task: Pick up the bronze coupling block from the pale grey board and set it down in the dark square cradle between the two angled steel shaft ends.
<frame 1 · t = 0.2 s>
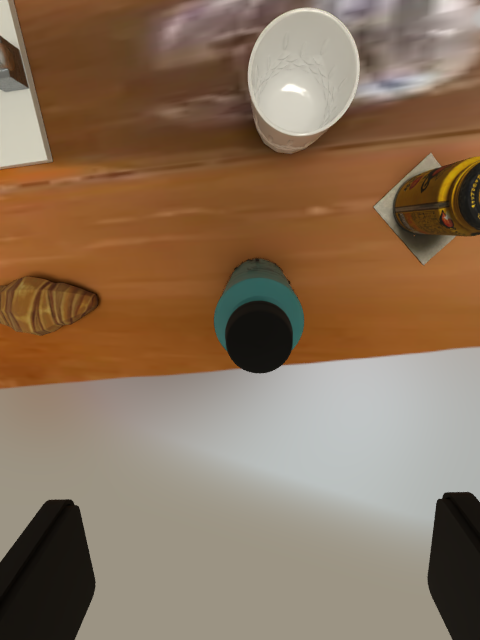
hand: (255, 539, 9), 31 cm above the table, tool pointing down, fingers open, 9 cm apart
condiment: (424, 211, 36), on the table
white cup: (288, 117, 34), on the table
shaft a: (4, 78, 34), resting on board
beverage bottle: (256, 284, 39), on the table
croissant: (46, 301, 40), on the table
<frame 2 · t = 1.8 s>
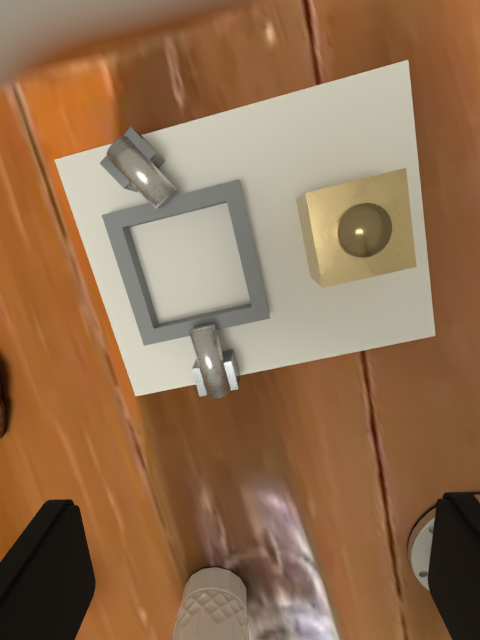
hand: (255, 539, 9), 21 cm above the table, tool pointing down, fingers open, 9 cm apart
white cup: (216, 588, 38), on the table
board: (253, 250, 28), on the table
shaft b: (156, 180, 27), resting on board
shaft a: (215, 345, 30), resting on board
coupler: (342, 230, 26), point 1 cm above the table, touching board
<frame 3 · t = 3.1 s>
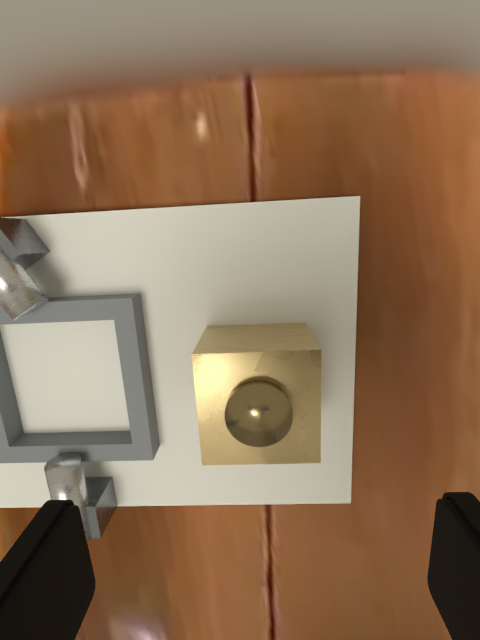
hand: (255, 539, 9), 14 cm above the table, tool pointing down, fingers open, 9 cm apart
board: (152, 368, 23), on the table
shaft b: (42, 267, 21), resting on board
shaft a: (95, 464, 25), resting on board
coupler: (257, 370, 21), point 1 cm above the table, touching board
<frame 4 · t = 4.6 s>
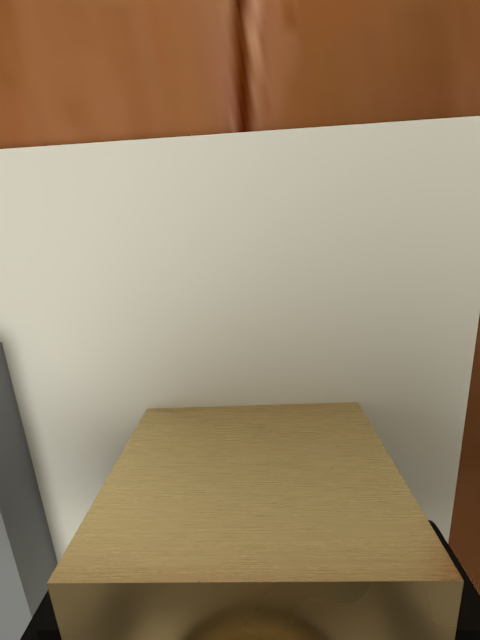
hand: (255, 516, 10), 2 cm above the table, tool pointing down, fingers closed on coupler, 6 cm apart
board: (52, 474, 12), on the table
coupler: (255, 492, 11), point 1 cm above the table, touching board, gripper
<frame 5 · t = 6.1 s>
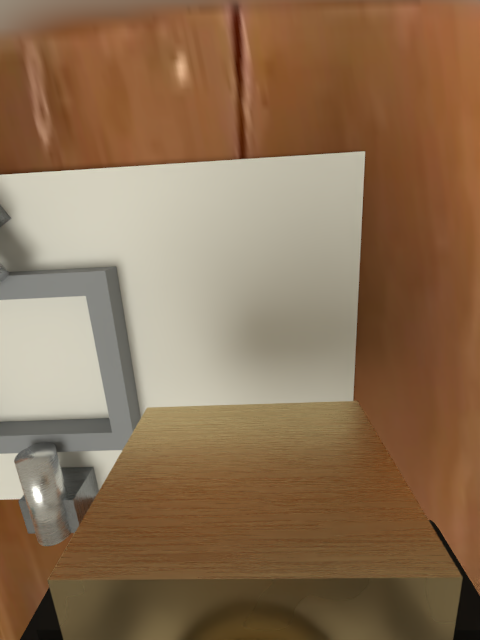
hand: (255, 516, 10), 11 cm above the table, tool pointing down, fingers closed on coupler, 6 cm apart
board: (133, 350, 21), on the table
shaft b: (5, 237, 19), resting on board
shaft a: (75, 453, 23), resting on board
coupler: (255, 491, 11), point 11 cm above the table, touching gripper
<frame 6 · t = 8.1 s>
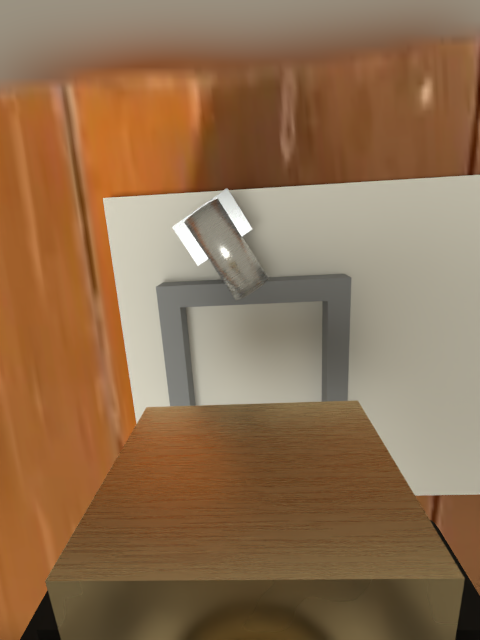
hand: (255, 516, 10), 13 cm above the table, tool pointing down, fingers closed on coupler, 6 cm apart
board: (334, 353, 22), on the table
shaft b: (231, 247, 20), resting on board
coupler: (255, 491, 11), point 12 cm above the table, touching gripper
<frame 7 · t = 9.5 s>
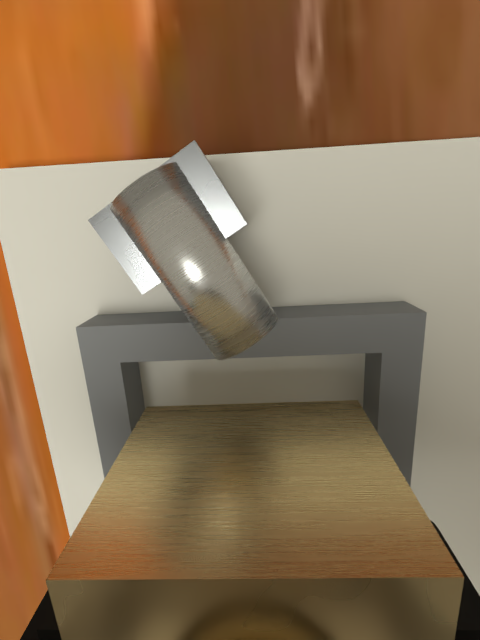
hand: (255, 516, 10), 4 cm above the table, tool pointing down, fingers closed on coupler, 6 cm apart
board: (379, 422, 14), on the table
shaft b: (213, 254, 12), resting on board
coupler: (255, 491, 11), point 4 cm above the table, touching gripper
when the fingers open (4 cm above the table, at t = 10.3 s): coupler drops 2 cm, resting on board.
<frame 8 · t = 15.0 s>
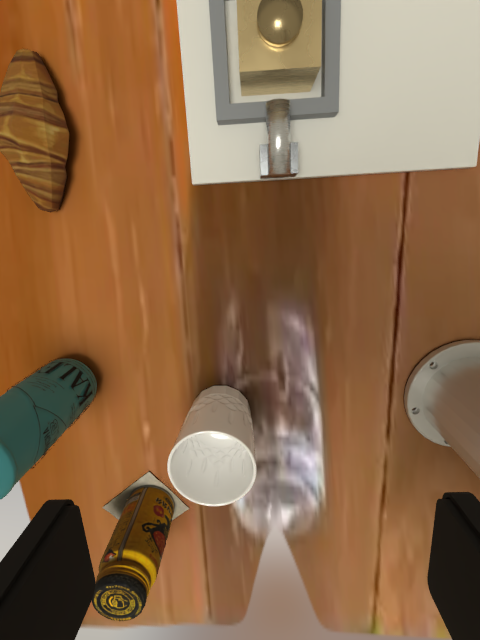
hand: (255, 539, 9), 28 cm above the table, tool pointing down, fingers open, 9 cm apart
condiment: (146, 505, 44), on the table
white cup: (221, 409, 40), on the table
board: (330, 54, 30), on the table
shaft a: (275, 148, 32), resting on board
beverage bottle: (78, 376, 39), on the table
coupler: (274, 54, 29), point 1 cm above the table, touching board
croissant: (47, 139, 33), on the table
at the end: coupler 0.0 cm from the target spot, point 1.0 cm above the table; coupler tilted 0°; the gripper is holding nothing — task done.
